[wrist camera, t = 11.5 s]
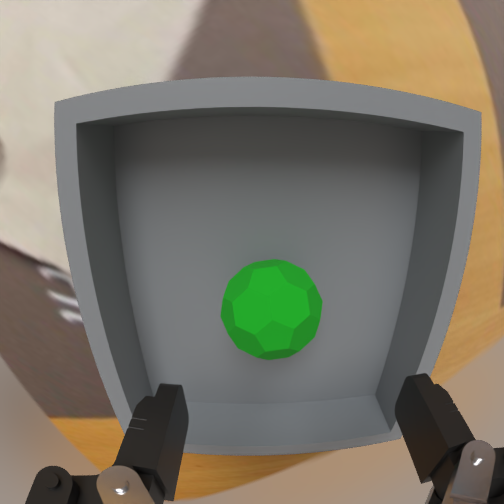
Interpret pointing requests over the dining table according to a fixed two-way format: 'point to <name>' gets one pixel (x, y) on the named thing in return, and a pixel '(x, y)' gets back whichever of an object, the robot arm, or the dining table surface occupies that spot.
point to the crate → (266, 246)
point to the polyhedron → (271, 309)
